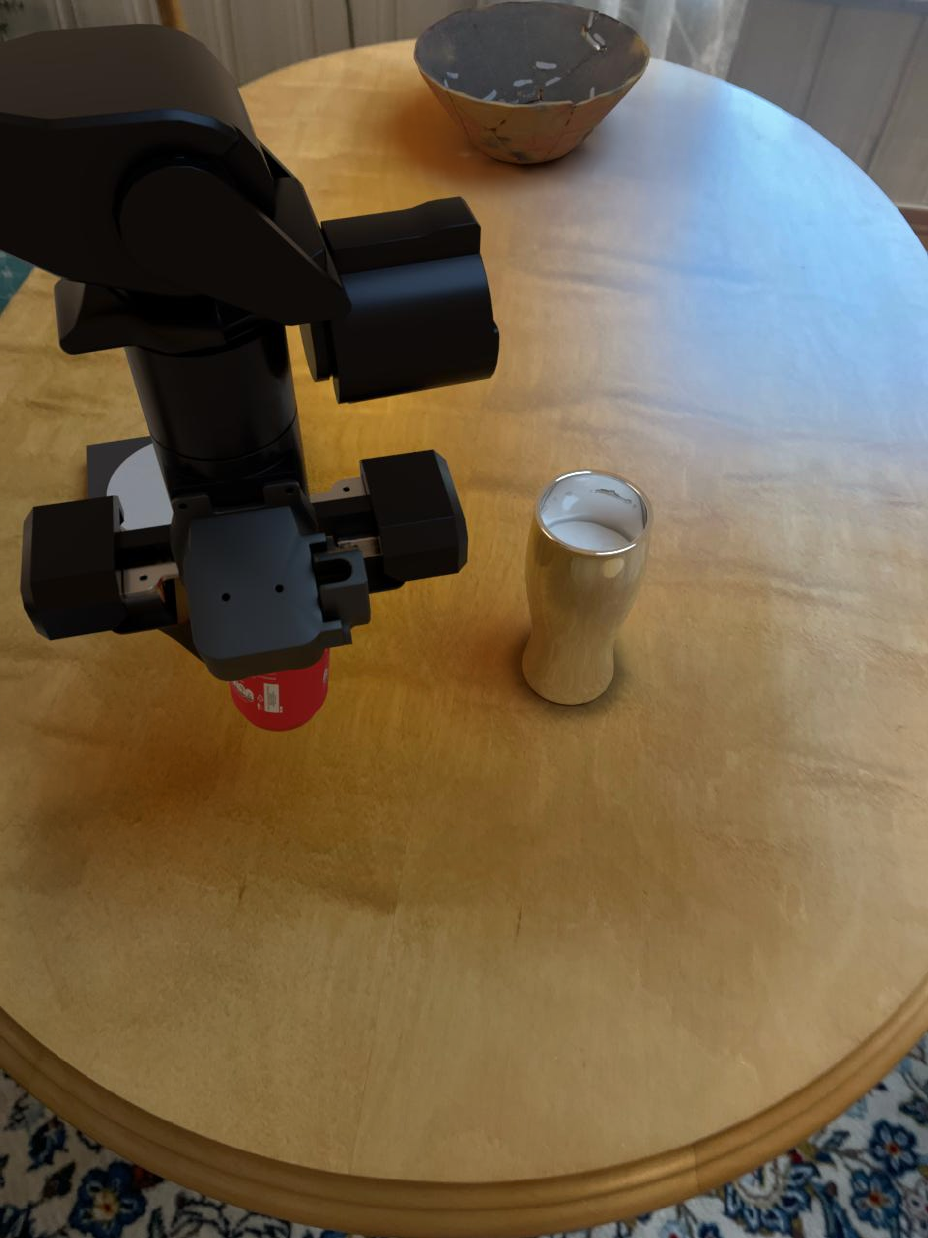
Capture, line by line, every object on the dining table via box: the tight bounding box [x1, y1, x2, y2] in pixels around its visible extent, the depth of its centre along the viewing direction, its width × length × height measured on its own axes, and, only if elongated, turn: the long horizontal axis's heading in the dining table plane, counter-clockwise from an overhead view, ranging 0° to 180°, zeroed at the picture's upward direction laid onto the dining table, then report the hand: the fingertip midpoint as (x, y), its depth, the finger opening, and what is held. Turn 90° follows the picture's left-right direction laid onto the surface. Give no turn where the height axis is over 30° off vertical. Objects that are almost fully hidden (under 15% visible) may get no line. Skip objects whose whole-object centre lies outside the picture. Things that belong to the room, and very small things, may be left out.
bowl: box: [413, 0, 651, 165], centre depth 105 cm, size 25×25×10 cm
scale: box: [85, 435, 173, 531], centre depth 72 cm, size 14×14×3 cm
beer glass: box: [521, 468, 655, 706], centre depth 59 cm, size 7×7×15 cm
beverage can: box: [229, 648, 331, 733], centre depth 49 cm, size 5×5×12 cm
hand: (274, 650), depth 50 cm, fingers closed on beverage can, 6 cm apart
